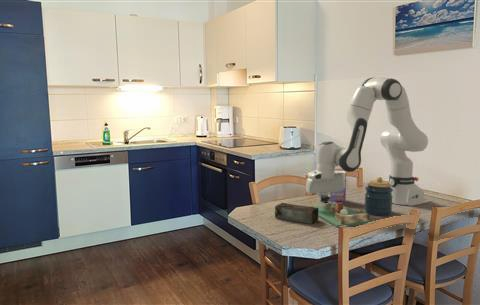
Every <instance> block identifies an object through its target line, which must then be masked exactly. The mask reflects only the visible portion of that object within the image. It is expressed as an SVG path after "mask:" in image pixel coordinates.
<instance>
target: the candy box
mask: <svg viewBox="0 0 480 305" xmlns="http://www.w3.org/2000/svg"><path fill="white" fill-rule="evenodd" d="M335 173H341V174H343V182H344V189H343V191H337V192H333V195H332V196H331V200H333V201H335V202H342V203H346V191H347V187H346V186H347V171H345V170H335ZM321 195H327V196H328V195H329V193H328V192H325V193H321Z"/></svg>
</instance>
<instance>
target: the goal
mask: <svg viewBox="0 0 480 305" xmlns="http://www.w3.org/2000/svg"><path fill="white" fill-rule="evenodd" d="M358 213H359V214H355V215H345V216H343V215H341V214H339V213H335V221H337V222H339V223H341V224H349V223H358V222H367V221H369V218H370V214H369V213H367V212H365V210H362V209H359V211H358Z"/></svg>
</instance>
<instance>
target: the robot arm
mask: <svg viewBox="0 0 480 305" xmlns="http://www.w3.org/2000/svg"><path fill="white" fill-rule="evenodd" d="M376 101H385V108H386V114H387V119H388V122H389V124H390V125H391V126H392V127H394V128H392V129H384V131H383V132H382V133H381V135H380V139H379V140H380V144H381V146H382V147H383V148H384V149H385V150H386V152H387V155H388V156H389V160H390V168H389V169H390V170H389V171H390V173H389V176H388V182H389V183H390V184H391V185H392V186H391V188H392V189H393V191H392V196H393V198H392V204H395V205H403V206H404V205H405V206H410V207H411V206H417V205H423V204H428V203H430V202H429V201H430V200H429V199H427V198H425V191H424V190H423V188H421V187H420V186H419V185H417V183H415V182H418V181H419V177H417V176H413V172H414V171H413V168H414V163H413V161H412V159H410V158H409V157H408V156H407V154H406V152H412V153H417V152H423V151H425V149H427V147H428V144H429V138H428V136H427V134H426V133H424V132H423V131H422V130H420V128H419V127H418V126H417V125H416V123H415V122H414V119H413V117H412V114H411V108H410V102H409V98H408V95H407V91H406V89H405V87H404V86H403V85H402V84H401V82H400V81H399V80H397V79H394V78H389V77H369V78H367V79H365V80H364V81H363V82H362V84H361V86H359V87H357V88H356V89H355V91H354V93H353V95H352V97H351V99H350V102H349V105H348V108H347V112H346V120H347V122H348V123H349V126H350V128H351V135H350V138H349V142H348V146H347V148H345V147H342V146H340V145H338V144H336V143H335V142H333V141H324V142H321V143H319V145H318V148H317V154H316V156H317V157H316V161H317V165H316V169H314V170H313V171H309V172H308V173H307V177H308V178H307V179H306V183H305V192H306V193H307V194H309V195H311V194H316V195H317V197H318V202H321V201H323V198H322V197H321V196H320V195H321V193H325V192H328V193H329V195H328V196H329V197H330V200H331V196H332V195H333V192H337V191H343V189H344V182H343V174H341V173H335V171H336V170H335V168H336V167H339V168H341V169H342V171H345V172H346V173H352V172H353V173H354V172H355V171H356V170H358V169H359V167H360V166H361V164H362V155H361V154H362V149H363V145H364V141H365V137H366V133H367V128H368V124H369V119H370V118H371V117H370V116H371V113H372V110H373V107H374V103H375V102H376Z"/></svg>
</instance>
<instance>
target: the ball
mask: <svg viewBox="0 0 480 305" xmlns="http://www.w3.org/2000/svg"><path fill="white" fill-rule="evenodd" d="M340 214H341V215H343V216H345V215H348V211H347V210H346V209H342V210H341V211H340Z"/></svg>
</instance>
